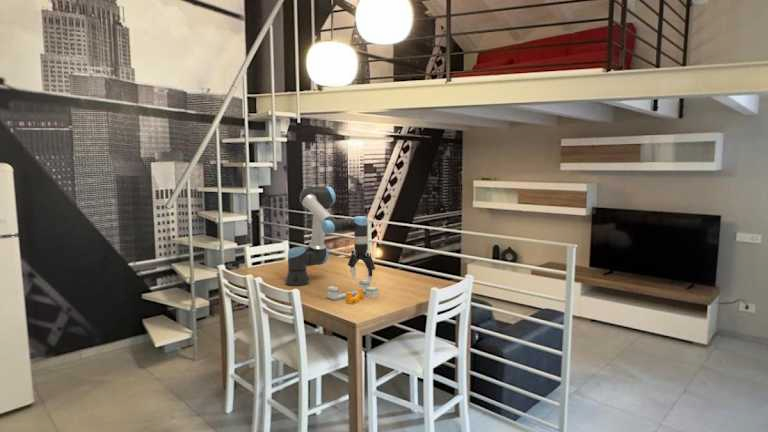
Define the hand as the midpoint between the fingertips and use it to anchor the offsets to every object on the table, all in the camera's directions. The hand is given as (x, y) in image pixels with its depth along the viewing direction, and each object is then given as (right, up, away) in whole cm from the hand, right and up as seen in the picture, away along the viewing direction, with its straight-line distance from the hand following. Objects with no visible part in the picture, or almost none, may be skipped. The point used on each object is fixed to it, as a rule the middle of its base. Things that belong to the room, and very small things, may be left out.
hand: (361, 280), depth 284 cm
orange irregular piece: (-3, -12, -4) cm, 13 cm away
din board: (-8, -10, +10) cm, 16 cm away
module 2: (+1, -10, +19) cm, 21 cm away
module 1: (-16, -11, +1) cm, 20 cm away
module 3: (+6, -11, +9) cm, 15 cm away
